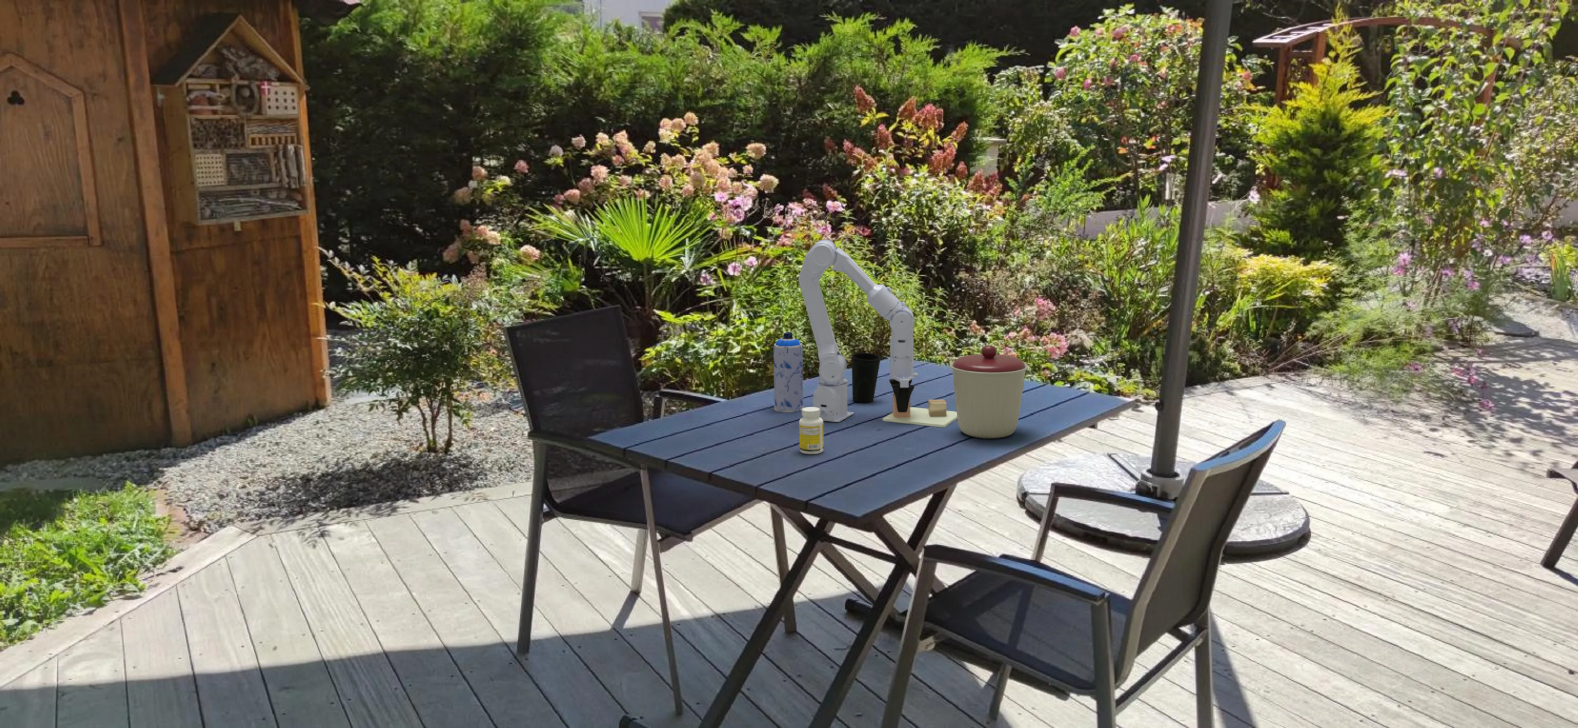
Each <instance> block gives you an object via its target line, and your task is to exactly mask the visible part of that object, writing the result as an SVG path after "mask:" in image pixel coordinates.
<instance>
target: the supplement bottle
mask: <svg viewBox="0 0 1578 728" xmlns="http://www.w3.org/2000/svg"><path fill="white" fill-rule="evenodd" d="M819 415H820V409H819V408H817V407H813V406H808V407H807V406H806V407H804V408H803V409H802V411H801V416H802V417H801V418H800V419H799V420H798V429H799V430H798V431H799V432H798V433H799V451H800V453H802V454H806V455H818V454H821V453H823V452H824V450H825V449H824V448H825V446H824V441H825V440H824V436H825V435H824V421H823V420H822V418H820V417H819Z"/></svg>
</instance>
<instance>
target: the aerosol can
mask: <svg viewBox="0 0 1578 728" xmlns="http://www.w3.org/2000/svg"><path fill="white" fill-rule="evenodd" d="M803 355H804V353H803V344H802V343H801V342H800V340H799V339H797V338H796V337H793V333H792V332H791V331H786V332H783V336H782V337H781V338H779V339H777V341H776V342H775V343H774V344H773V386H774V387H773V389H774V390H773V391H774V392H773V393H774V394H773V395H774V398H773V399H774V400H773V401H774V406H773V410H774V411H775V412H777V413H796V412H802V409H803V408H805V406H804V375H803V374H804V373H803V372H804V371H803V370H804V367H803V363H804V362H803V360H804V358H803Z"/></svg>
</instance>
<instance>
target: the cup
mask: <svg viewBox="0 0 1578 728" xmlns="http://www.w3.org/2000/svg"><path fill="white" fill-rule="evenodd" d="M880 364H881V356H880V355H878V354H876V353H871V352H855V353H853V354H851V386H852V389H851V390H852V391H851V392H852V393H851V394H852V401H854V402H856V403H861V404H867V403H868V404H869V403H872V402H874V398H875V393H876V388H877V382H878V377H879V371H880Z"/></svg>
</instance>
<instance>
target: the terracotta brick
mask: <svg viewBox="0 0 1578 728" xmlns="http://www.w3.org/2000/svg"><path fill="white" fill-rule="evenodd" d="M910 407H911V398H910V399H909V404H908V409H907V412H898V409H897V404H896V397H895V394H894V393H892V413H893V416H894V417H910Z"/></svg>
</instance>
